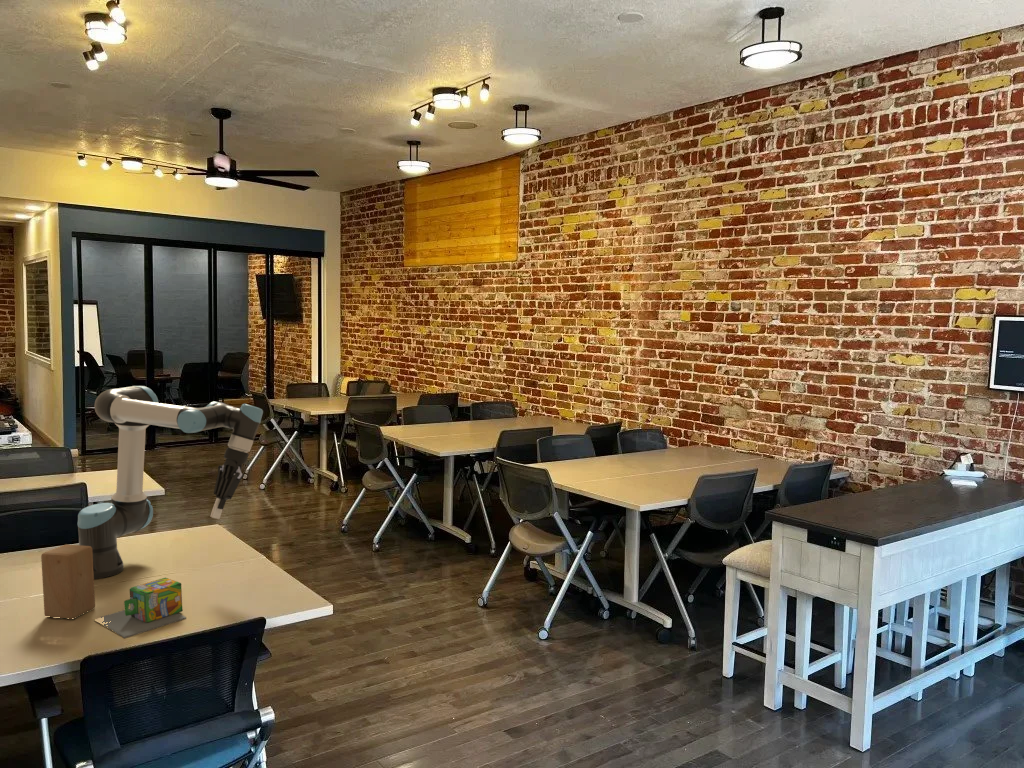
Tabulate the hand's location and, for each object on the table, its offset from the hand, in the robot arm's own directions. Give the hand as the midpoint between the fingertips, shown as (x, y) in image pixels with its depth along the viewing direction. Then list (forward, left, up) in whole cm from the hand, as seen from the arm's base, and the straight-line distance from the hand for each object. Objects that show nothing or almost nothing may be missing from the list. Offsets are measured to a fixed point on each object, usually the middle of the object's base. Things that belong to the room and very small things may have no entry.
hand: (214, 517), depth 255 cm
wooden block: (-11, -41, -23) cm, 49 cm away
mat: (+10, -30, -23) cm, 39 cm away
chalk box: (+11, -20, -18) cm, 29 cm away
